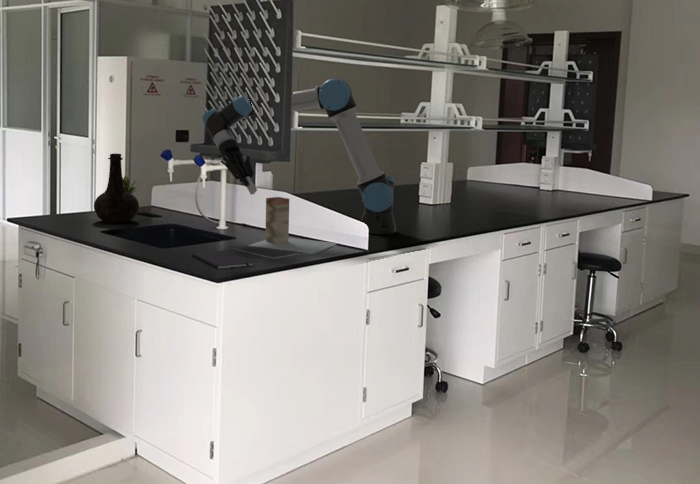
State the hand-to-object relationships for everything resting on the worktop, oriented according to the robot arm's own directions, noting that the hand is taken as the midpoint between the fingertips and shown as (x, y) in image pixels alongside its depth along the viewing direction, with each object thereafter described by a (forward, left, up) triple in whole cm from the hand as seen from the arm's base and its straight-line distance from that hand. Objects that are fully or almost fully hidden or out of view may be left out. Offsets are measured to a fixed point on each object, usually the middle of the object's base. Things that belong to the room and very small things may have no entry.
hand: (253, 192), depth 293 cm
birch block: (+4, +12, -17) cm, 21 cm away
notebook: (+41, +12, -18) cm, 46 cm away
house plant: (-31, -85, -18) cm, 92 cm away
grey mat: (+6, +20, -18) cm, 27 cm away
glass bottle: (-1, -65, -18) cm, 67 cm away
